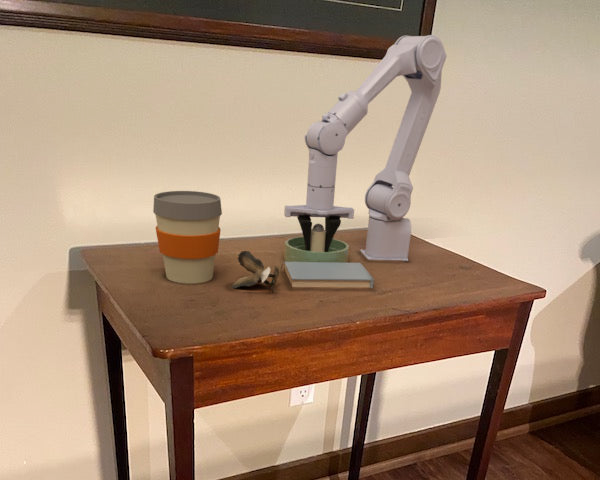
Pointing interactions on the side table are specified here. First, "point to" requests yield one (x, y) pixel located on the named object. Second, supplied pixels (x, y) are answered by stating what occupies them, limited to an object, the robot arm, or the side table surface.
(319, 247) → the shaker
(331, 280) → the book
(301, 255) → the bowl
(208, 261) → the reusable coffee cup
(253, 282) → the eagle figurine
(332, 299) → the side table surface
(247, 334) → the side table surface
